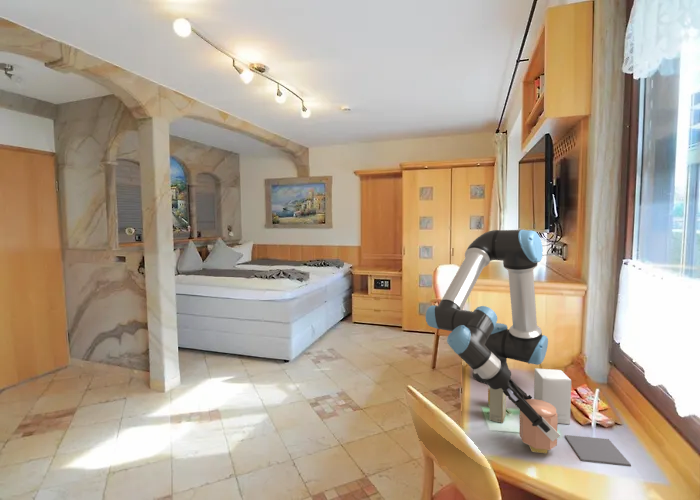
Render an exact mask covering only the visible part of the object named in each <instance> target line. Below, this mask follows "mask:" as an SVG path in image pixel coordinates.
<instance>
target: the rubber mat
mask: <svg viewBox="0 0 700 500" xmlns="http://www.w3.org/2000/svg"><path fill="white" fill-rule="evenodd" d="M564 437H565V439H566V440H567V442H568V443H569V445H570V446H571V448H572V449H573V451H574V452H575V454H576V455H577V457H578V458H579V459H580V461H581V462H589V463H598V464H608V465H617V466H625V467H632V464H631V463H630V462H629V460H628V459H627V458H626V457H625V456H624V455H623V453H621V451H620V450H619V449H618V448H617V447H616V446H615V445H614V443H613V442H612V441H611V440H610V439H609V438H603V437H602V438H601V437H592V436H591V437H590V436H580V435H579V436H578V435H569V434H565V435H564Z"/></svg>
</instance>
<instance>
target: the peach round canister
mask: <svg viewBox="0 0 700 500" xmlns="http://www.w3.org/2000/svg"><path fill="white" fill-rule="evenodd" d="M526 401H527V402H528V403H529V404H530V406H531V407H532V408H533V409H534V410H535V411H536V412H537V413H538V414H539V415H540V416H541V417H543V418H544V419H545V420H546V421H547V422H548V423H549V424H550V425H551V426H552V427H553V428H554V429H555V430H556V431H557V432H558V423H557V420H558V414H557V413H556V408H555V407H554V406H553V405H552V404H550V403H548V402H545V401H542V400H537V399H534V398H532V399H526ZM532 424H533V423H532V422H531V421H530V420H529V419H528V418H527V417H526V416H525V415H524V414H523V412H522V411H521V410H520V409H519V433H518V434H519V437H520V439H521V442H522V443H524V444H526V445H528V446H529V445H530V446H532V447H534V448H536V449H546V450H547V451H550V450H552V449H553V448H556V446H558V438H557V439H555V440H554V441H553V442H552V441H551V440H550V439H549V438H548V437H547V436H546V435H545V434H544V433H543V432H542V431H541V430H540V429H539V428H538V427H537V426H532ZM530 446H529V447H530Z"/></svg>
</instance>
